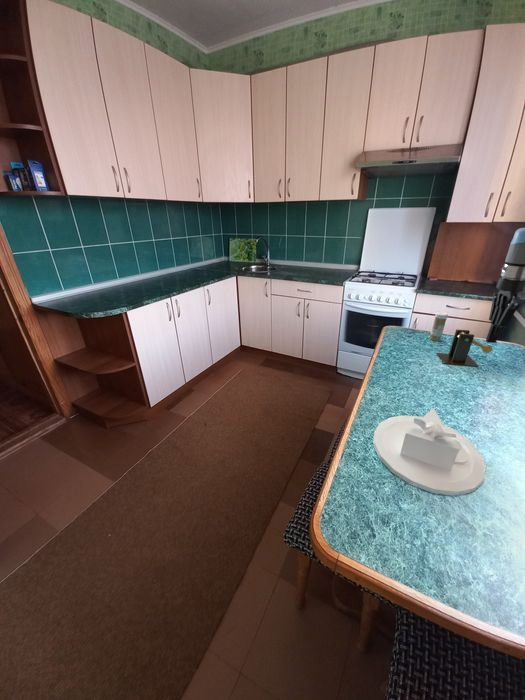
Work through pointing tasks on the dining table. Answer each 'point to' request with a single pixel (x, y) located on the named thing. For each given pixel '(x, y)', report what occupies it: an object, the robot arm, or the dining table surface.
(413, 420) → the dish
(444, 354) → the dark grey stand
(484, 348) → the tap lever
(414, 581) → the dining table surface
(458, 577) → the dining table surface
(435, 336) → the sprinkles bottle
